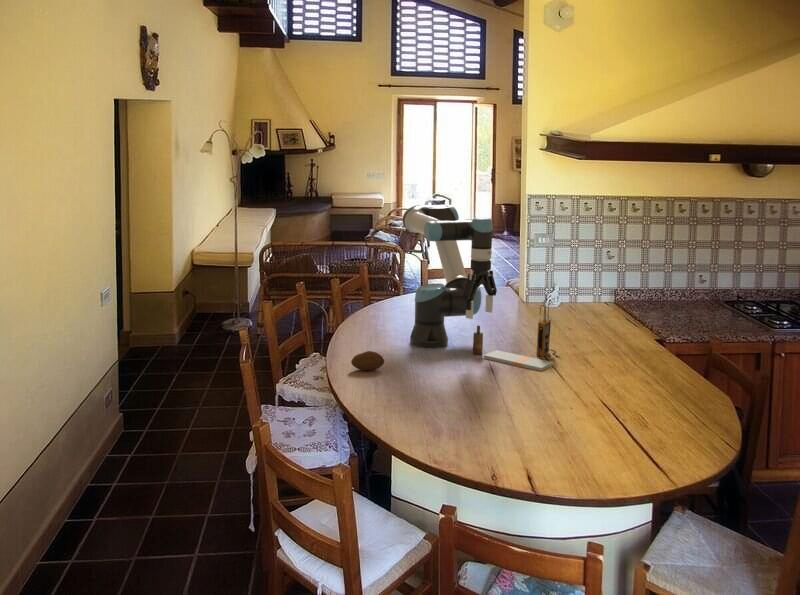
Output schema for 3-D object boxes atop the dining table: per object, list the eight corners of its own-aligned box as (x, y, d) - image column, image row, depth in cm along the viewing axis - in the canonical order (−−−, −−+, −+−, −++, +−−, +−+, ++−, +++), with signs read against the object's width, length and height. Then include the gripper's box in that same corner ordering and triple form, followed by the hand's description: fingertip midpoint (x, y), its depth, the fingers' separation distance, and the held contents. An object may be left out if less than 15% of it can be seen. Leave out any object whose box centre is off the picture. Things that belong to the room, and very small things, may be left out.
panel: (483, 358, 289) (483, 355, 289) (496, 353, 296) (496, 350, 296) (541, 371, 275) (541, 367, 274) (553, 365, 282) (553, 362, 281)
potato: (350, 368, 275) (350, 349, 274) (381, 366, 277) (382, 347, 276) (352, 373, 269) (352, 354, 267) (385, 372, 271) (385, 353, 269)
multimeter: (559, 362, 285) (562, 309, 281) (533, 358, 290) (535, 306, 286) (570, 352, 298) (573, 302, 294) (545, 349, 303) (547, 299, 298)
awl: (471, 353, 295) (471, 325, 292) (476, 351, 297) (477, 324, 295) (478, 355, 292) (480, 327, 290) (484, 353, 295) (485, 325, 293)
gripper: (471, 264, 275) (469, 322, 279) (507, 256, 294) (504, 311, 299) (453, 262, 280) (452, 319, 284) (490, 254, 299) (488, 308, 303)
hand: (479, 315), depth 291 cm, fingers open, 13 cm apart
